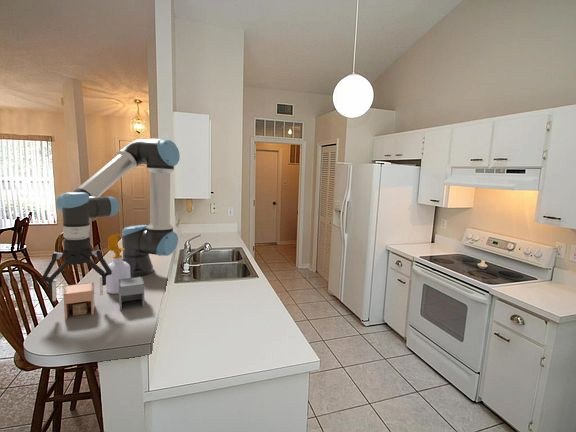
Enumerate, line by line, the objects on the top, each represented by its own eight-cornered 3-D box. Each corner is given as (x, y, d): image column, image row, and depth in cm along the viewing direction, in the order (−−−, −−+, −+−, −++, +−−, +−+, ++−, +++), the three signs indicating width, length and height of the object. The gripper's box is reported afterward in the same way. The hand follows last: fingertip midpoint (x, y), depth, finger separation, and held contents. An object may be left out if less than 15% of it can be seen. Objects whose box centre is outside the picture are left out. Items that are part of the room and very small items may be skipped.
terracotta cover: (67, 309, 111) (66, 285, 109) (94, 305, 115) (93, 282, 113) (64, 319, 104) (63, 294, 102) (93, 315, 108) (92, 290, 106)
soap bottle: (116, 296, 124) (113, 236, 120) (101, 291, 127) (99, 233, 124) (135, 288, 132) (134, 232, 128) (121, 284, 135) (119, 229, 132)
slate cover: (119, 301, 119) (118, 279, 118) (142, 298, 123) (142, 276, 122) (119, 310, 112) (119, 286, 111) (144, 306, 116) (144, 283, 115)
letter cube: (74, 311, 110) (73, 300, 109) (87, 309, 112) (87, 298, 111) (72, 316, 106) (72, 305, 106) (86, 314, 108) (86, 303, 108)
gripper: (27, 241, 96) (30, 306, 98) (118, 238, 108) (119, 295, 111) (32, 237, 102) (35, 297, 105) (118, 233, 114) (119, 288, 117)
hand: (78, 296), depth 108 cm, fingers open, 13 cm apart
